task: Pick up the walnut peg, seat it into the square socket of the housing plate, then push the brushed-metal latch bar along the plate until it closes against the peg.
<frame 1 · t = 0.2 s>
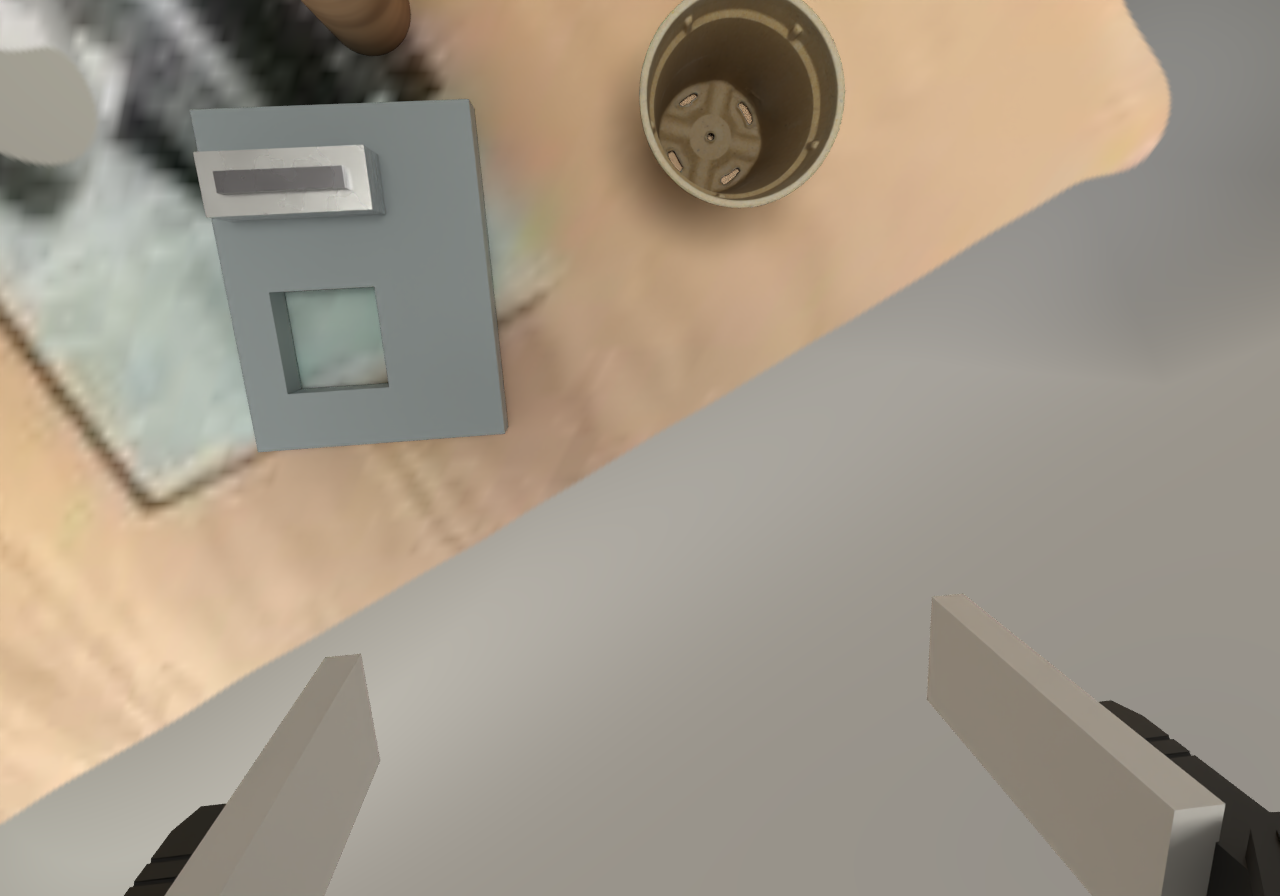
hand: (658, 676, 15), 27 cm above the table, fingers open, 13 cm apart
housing plate: (369, 283, 39), on the table
flower pot: (706, 138, 39), on the table
walnut peg: (367, 9, 36), on the table
latch bar: (292, 183, 34), point 4 cm above the table, slide at 0.0 cm
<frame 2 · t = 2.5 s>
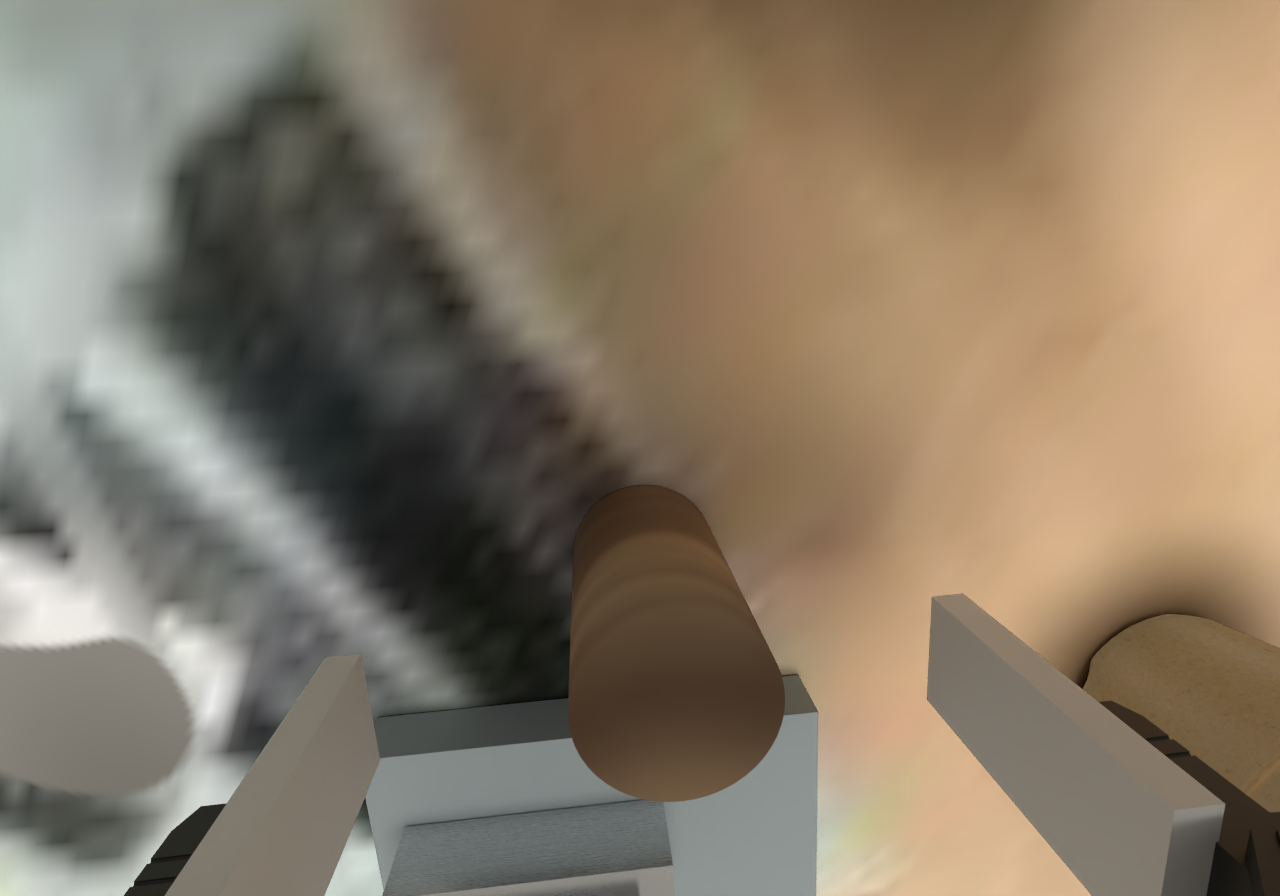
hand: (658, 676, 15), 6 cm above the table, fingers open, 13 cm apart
flower pot: (1146, 683, 24), on the table
walnut peg: (643, 551, 21), on the table
latch bar: (536, 894, 20), point 4 cm above the table, slide at 0.0 cm
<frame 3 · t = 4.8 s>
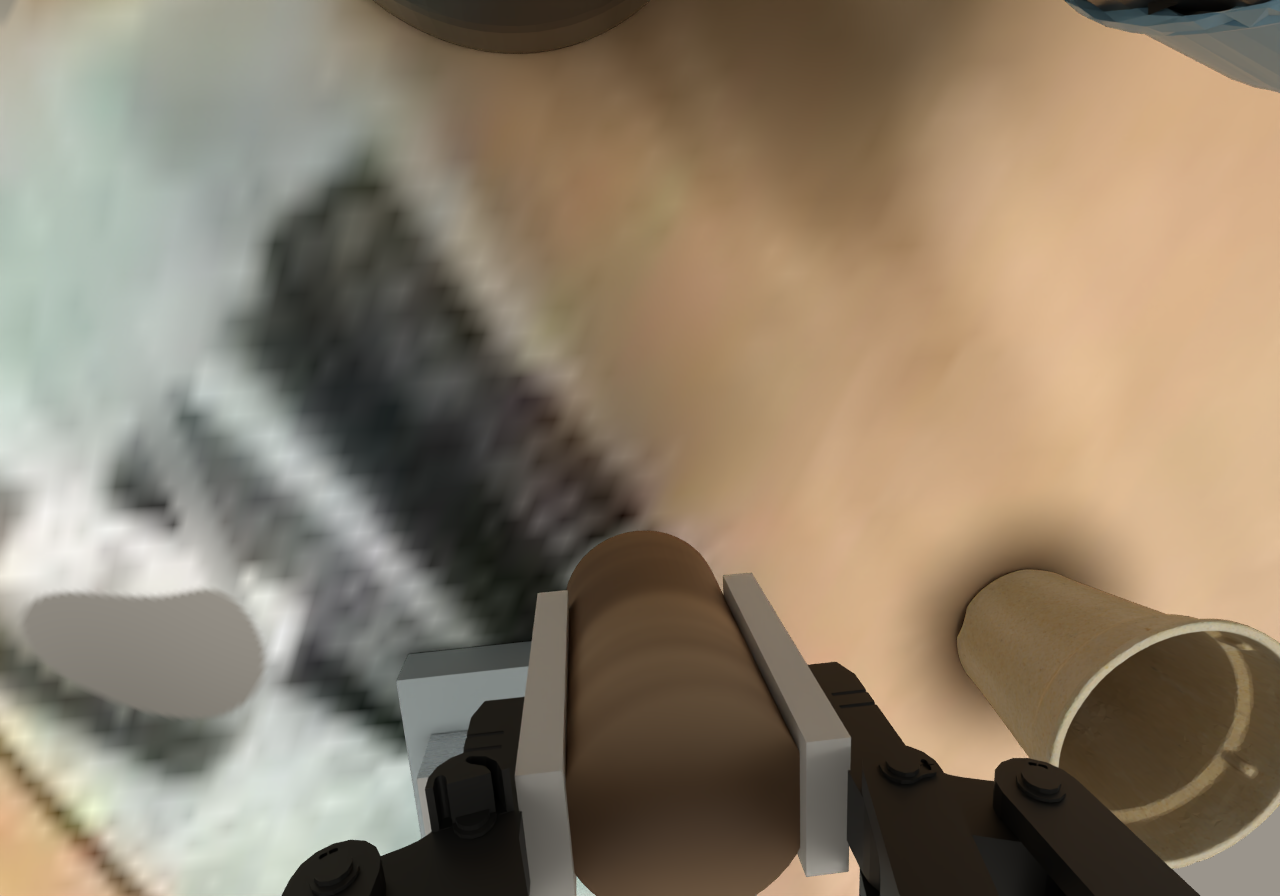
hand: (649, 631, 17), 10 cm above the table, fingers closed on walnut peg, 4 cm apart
housing plate: (592, 816, 31), on the table
flower pot: (1014, 627, 31), on the table
walnut peg: (641, 603, 19), point 9 cm above the table, touching gripper
latch bar: (533, 782, 26), point 4 cm above the table, slide at 0.0 cm
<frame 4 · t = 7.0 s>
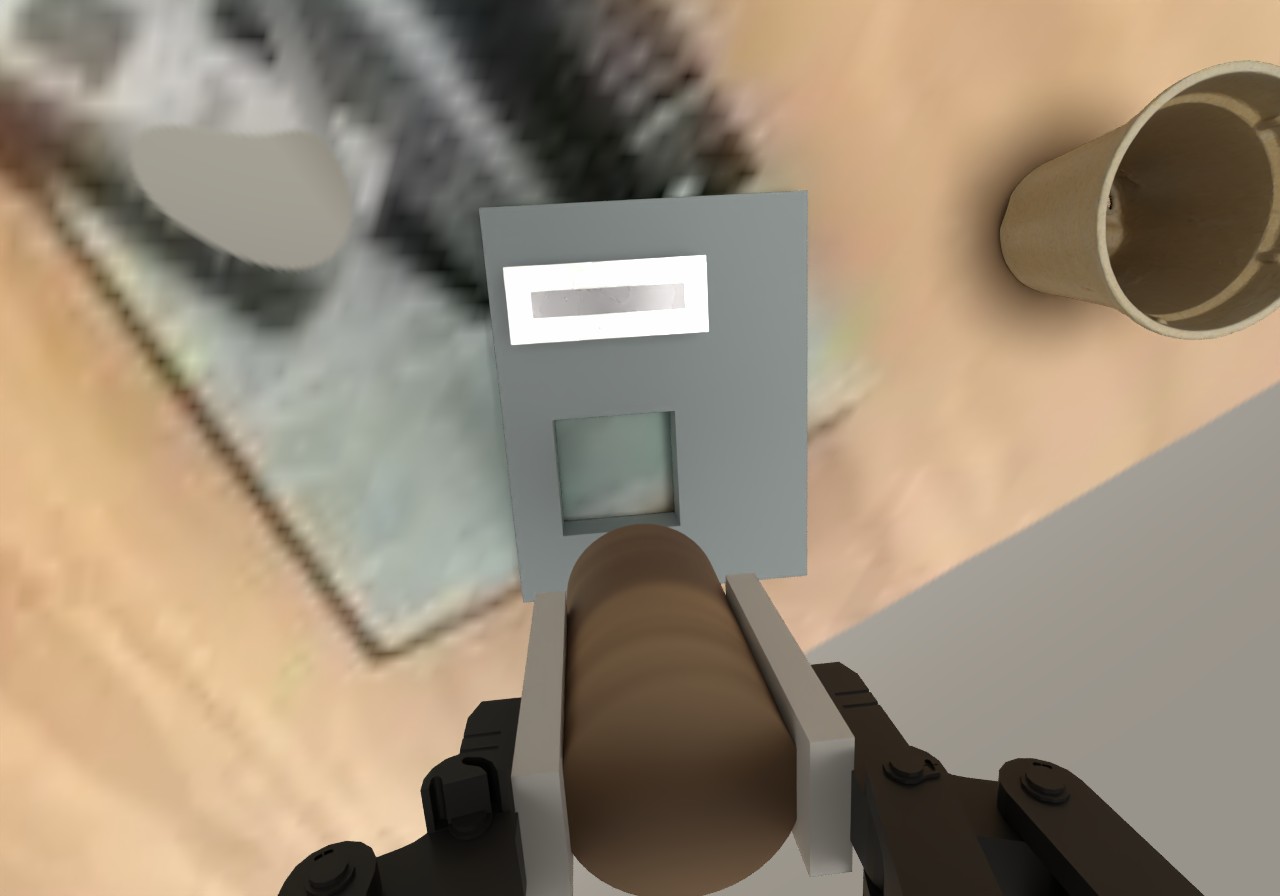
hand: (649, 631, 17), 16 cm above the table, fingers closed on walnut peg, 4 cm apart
housing plate: (652, 400, 33), on the table
flower pot: (1054, 226, 32), on the table
walnut peg: (642, 594, 20), point 14 cm above the table, touching gripper
latch bar: (607, 299, 28), point 4 cm above the table, slide at 0.0 cm
when the fingers open (4 cm above the table, at t = 9.4 s): walnut peg drops 1 cm, resting in housing plate.
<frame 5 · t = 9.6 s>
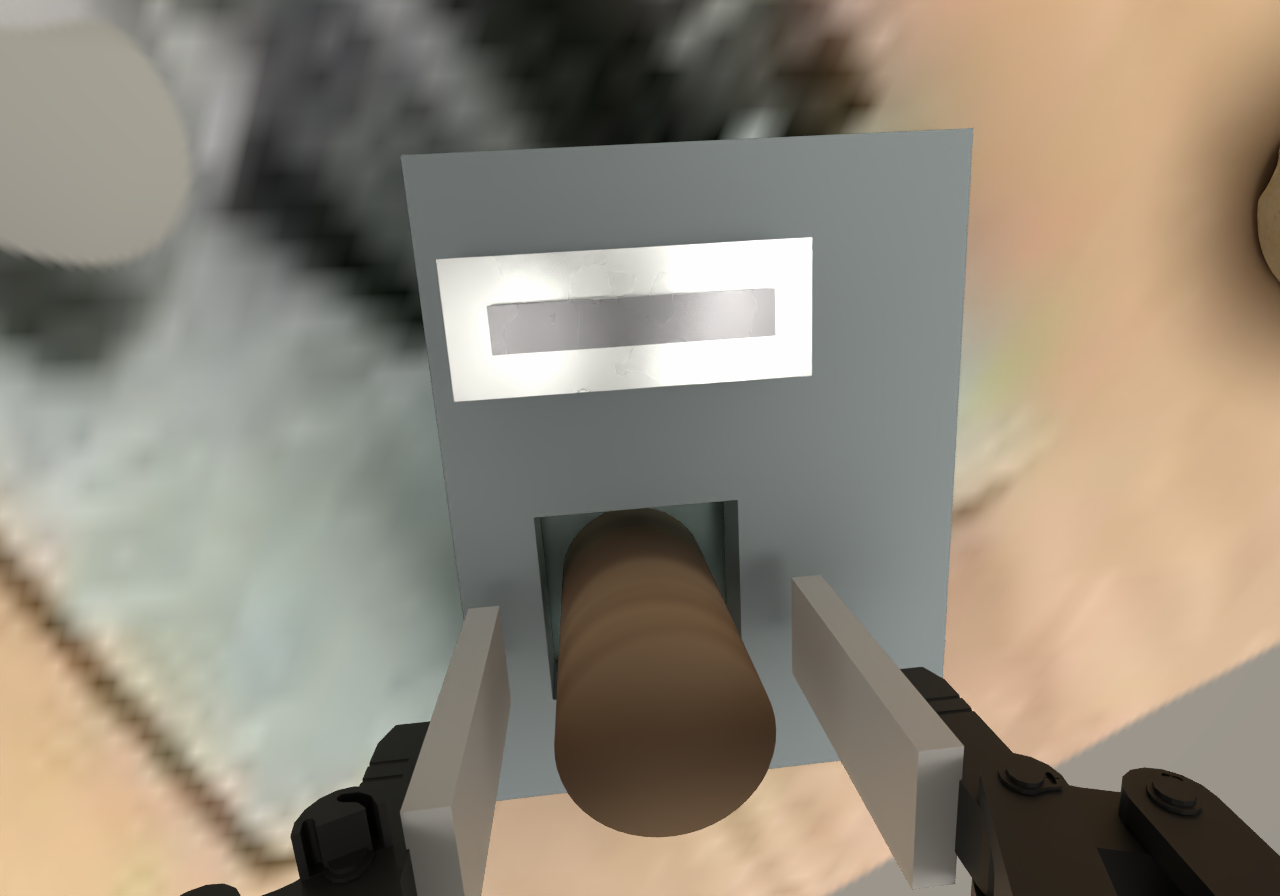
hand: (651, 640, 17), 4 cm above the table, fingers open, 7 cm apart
housing plate: (696, 475, 20), on the table
walnut peg: (633, 573, 21), resting in housing plate
latch bar: (629, 317, 15), point 4 cm above the table, slide at 0.0 cm
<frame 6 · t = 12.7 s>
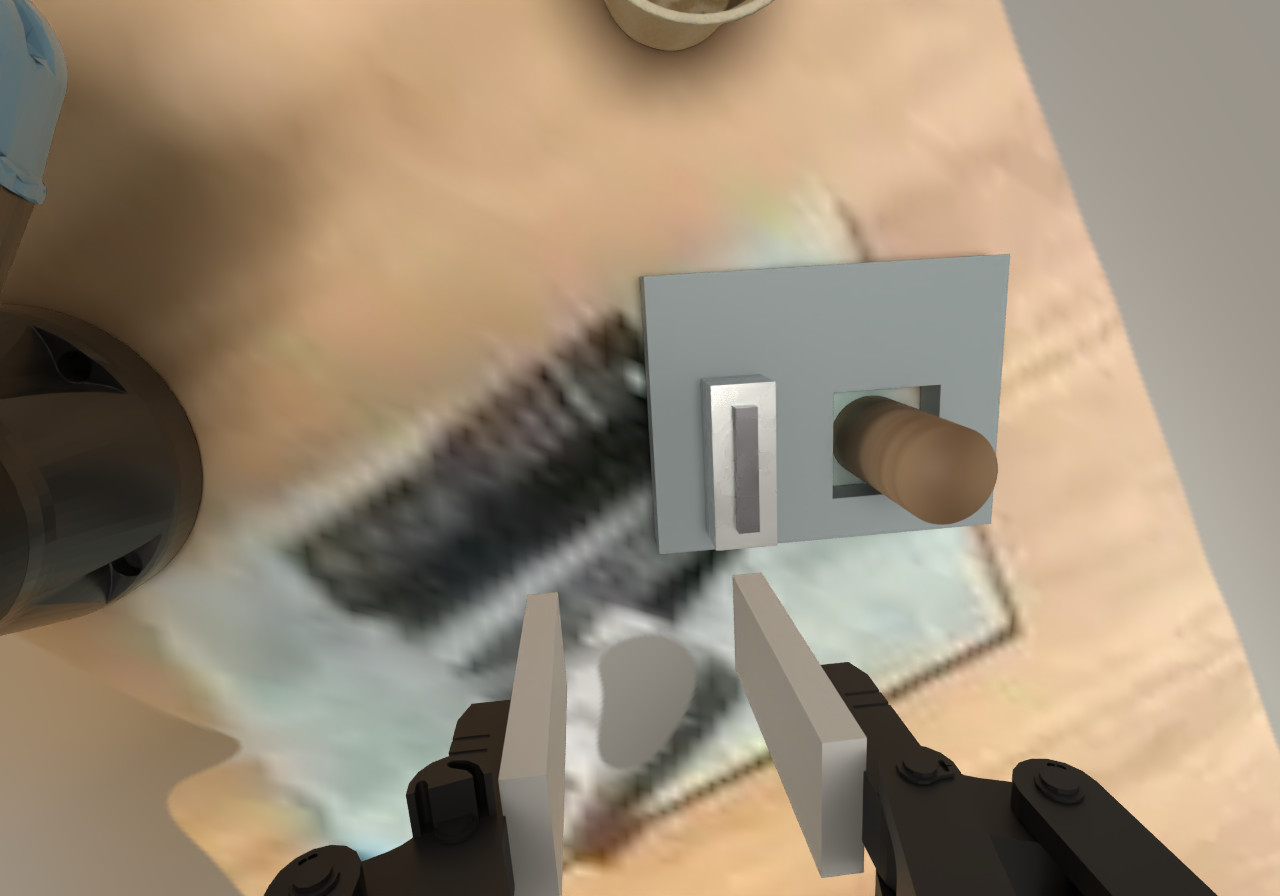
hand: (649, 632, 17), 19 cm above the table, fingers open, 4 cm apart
housing plate: (815, 401, 36), on the table
walnut peg: (869, 435, 36), resting in housing plate
latch bar: (740, 463, 32), point 4 cm above the table, slide at 0.0 cm
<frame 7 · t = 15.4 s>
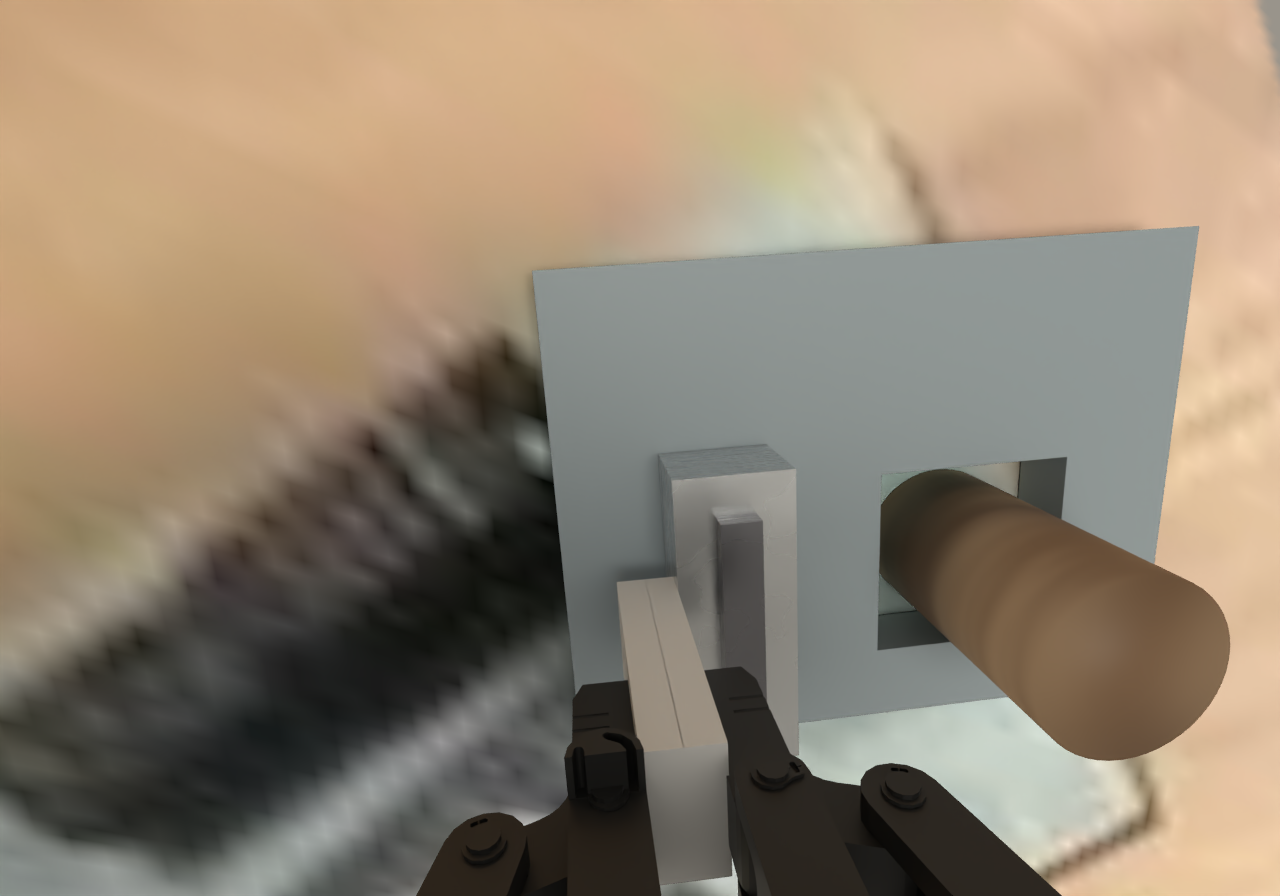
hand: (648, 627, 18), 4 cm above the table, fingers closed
housing plate: (846, 481, 21), on the table
walnut peg: (935, 534, 22), resting in housing plate
latch bar: (730, 608, 18), point 4 cm above the table, slide at 0.4 cm, touching gripper
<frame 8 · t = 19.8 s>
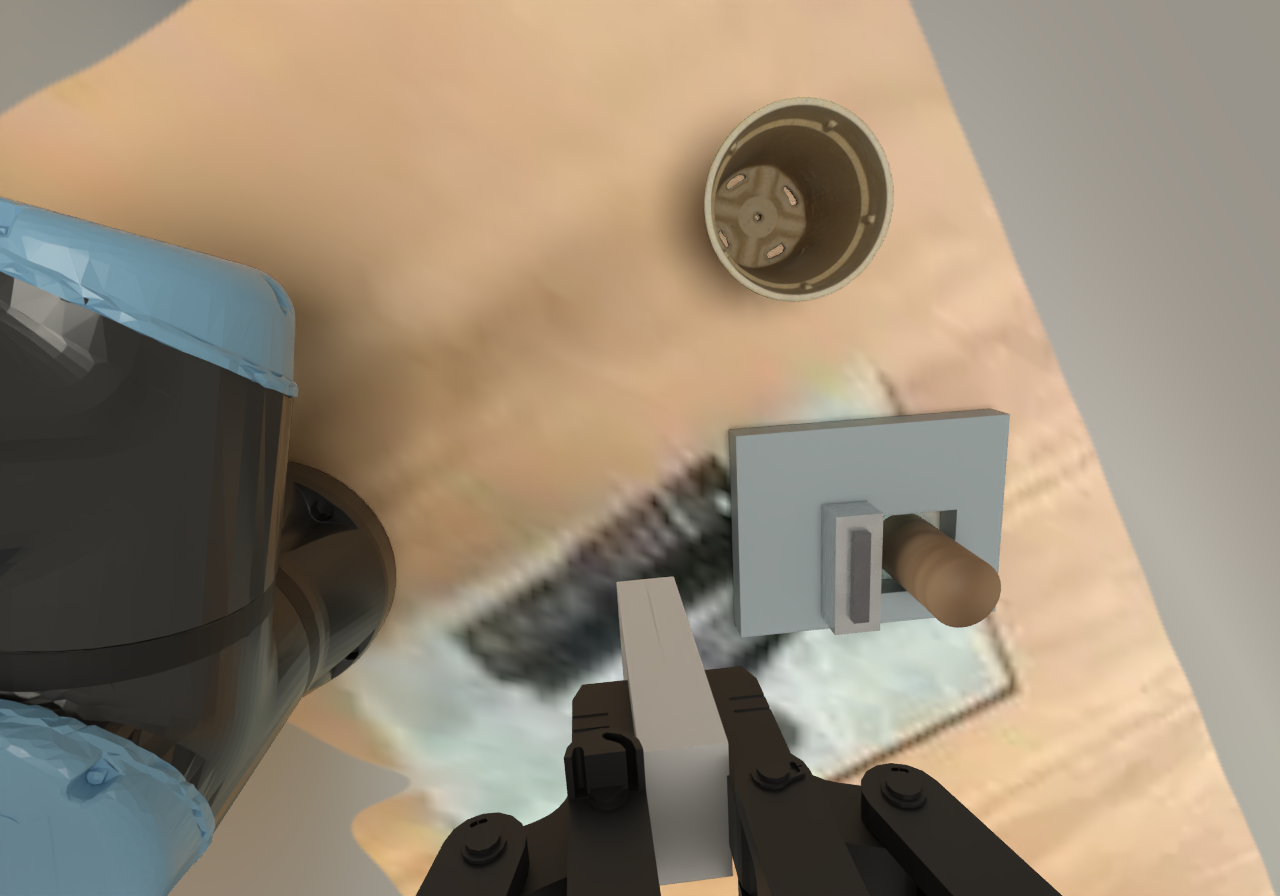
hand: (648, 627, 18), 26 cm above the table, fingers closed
housing plate: (860, 518, 46), on the table
flower pot: (754, 219, 41), on the table
walnut peg: (901, 542, 47), resting in housing plate
latch bar: (852, 569, 43), point 4 cm above the table, slide at 3.0 cm
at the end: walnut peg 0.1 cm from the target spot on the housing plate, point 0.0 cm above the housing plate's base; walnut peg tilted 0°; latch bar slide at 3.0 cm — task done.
